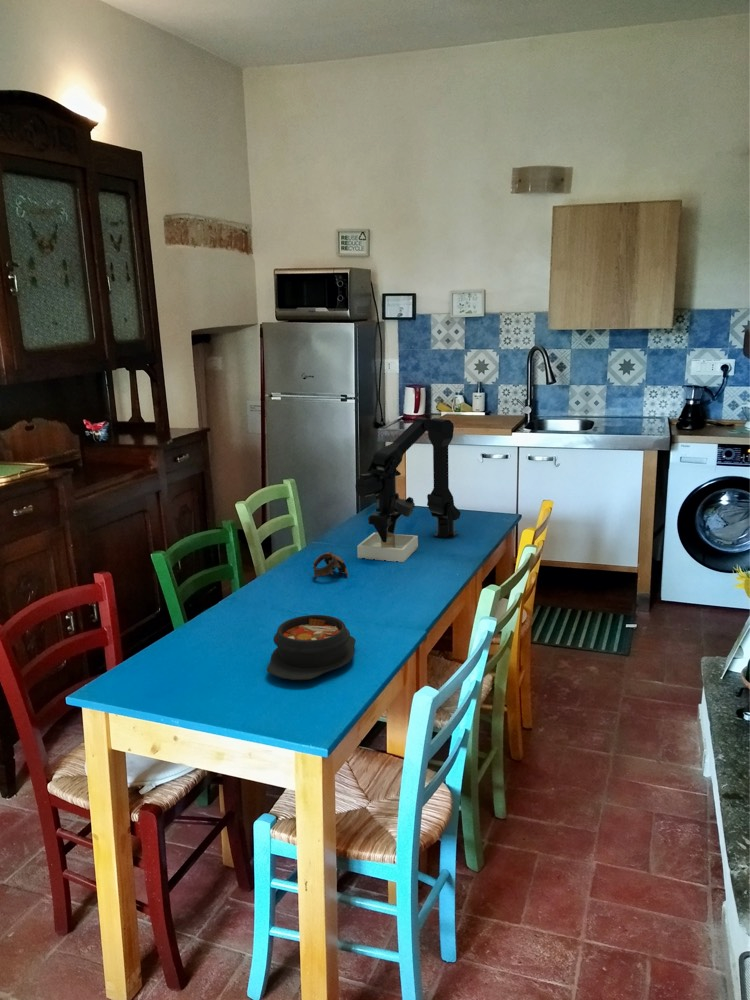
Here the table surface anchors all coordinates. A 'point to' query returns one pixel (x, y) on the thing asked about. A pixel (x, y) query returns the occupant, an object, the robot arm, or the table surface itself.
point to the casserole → (310, 647)
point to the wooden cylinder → (389, 541)
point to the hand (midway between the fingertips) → (388, 539)
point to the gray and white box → (374, 550)
